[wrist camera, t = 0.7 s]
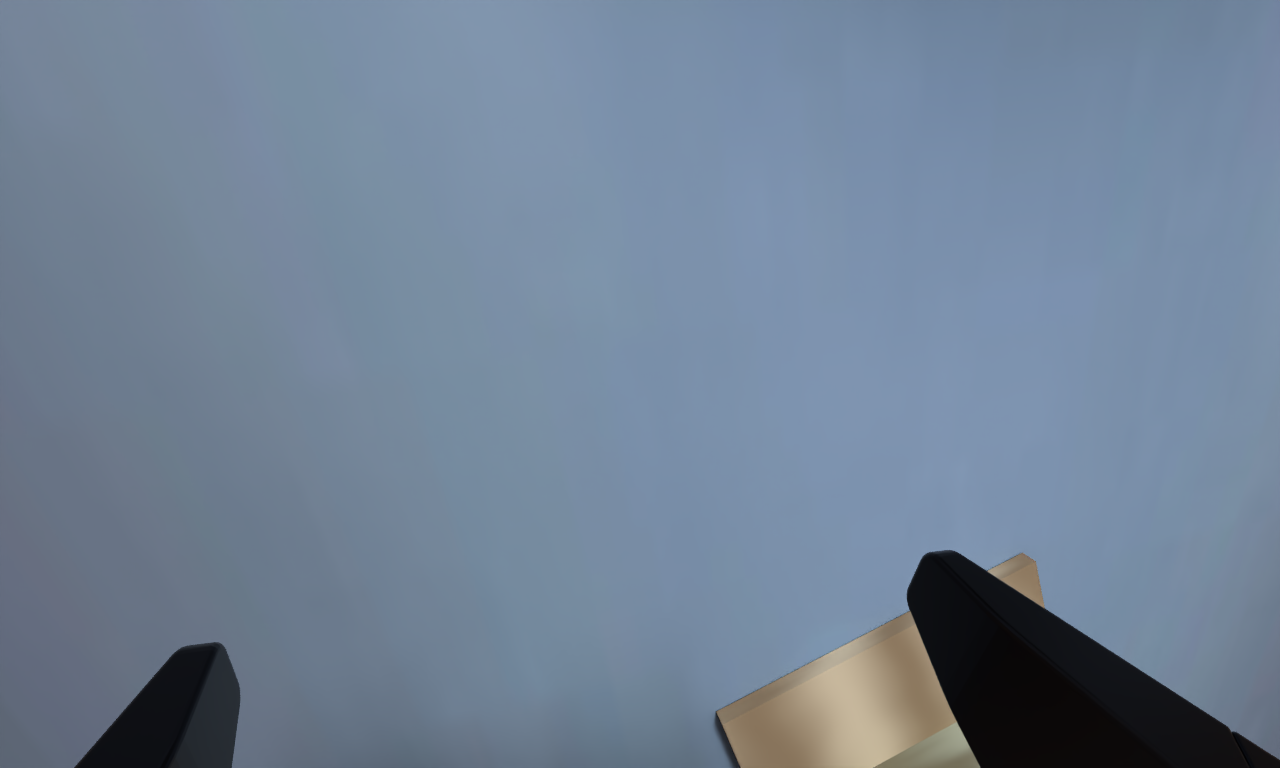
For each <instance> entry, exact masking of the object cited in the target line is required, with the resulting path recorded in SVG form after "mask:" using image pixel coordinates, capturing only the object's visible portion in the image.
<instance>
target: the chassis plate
mask: <svg viewBox="0 0 1280 768" xmlns="http://www.w3.org/2000/svg"><path fill="white" fill-rule="evenodd" d="M988 572H989V573H991V574H992V575H994V576H995V577H997V578H998V579H1000V580H1001V581H1003V582H1005V583H1006V584H1008V585H1009V586H1011V587H1012V588H1014V589H1015V590H1017V591H1018V592H1020V593H1022V594H1023V595H1025V596H1026V597H1028V598H1029V599H1031V600H1032V601H1034V602H1035V603H1037V604H1039V605H1040V606H1042V607H1043V608H1045V607H1044V602H1043V597H1042V592H1041V586H1040V581H1039V576H1038V571H1037V566H1036V561H1034V560H1033V559H1031V558H1030V557H1028V556H1027V555H1025V554H1024V553H1021V554H1019V555H1017V556H1015V557H1013V558H1011V559H1009V560H1008V561H1006V562H1004V563H1002V564H1000V565H998V566H996V567H994V568H992V569H990V570H988ZM716 712H717V715H718V717H719V719H720V722H721V724H722V726H723V729H724V731H725V733H726V736H727V738H728V740H729V743H730V745H731V747H732V750H733V752H734V754H735V757H736V759H737V761H738V764H739V766H740V768H980V766H979V764H978V762H977V760H976V758H975V756H974V754H973V752H972V751H971V749H970V747H969V745H968V743H967V741H966V739H965V737H964V735H963V733H962V731H961V729H960V727H959V725H958V723H957V721H956V719H955V717H954V715H953V713H952V711H951V709H950V707H949V705H948V702H947V700H946V698H945V696H944V693H943V691H942V689H941V686H940V684H939V681H938V679H937V676H936V674H935V671H934V669H933V666H932V664H931V661H930V659H929V656H928V654H927V651H926V649H925V647H924V644H923V642H922V639H921V637H920V634H919V632H918V629H917V627H916V624H915V622H914V619H913V617H912V614H911V612H910V611H909V612H907V613H905V614H903V615H901V616H900V617H898V618H896V619H894V620H892V621H890V622H888V623H886V624H884V625H882V626H880V627H878V628H876V629H875V630H873V631H871V632H869V633H867V634H865V635H863V636H861V637H859V638H857V639H855V640H853V641H851V642H849V643H848V644H846V645H844V646H842V647H840V648H838V649H836V650H834V651H832V652H830V653H828V654H826V655H824V656H822V657H821V658H819V659H817V660H815V661H813V662H811V663H809V664H807V665H805V666H803V667H801V668H799V669H797V670H795V671H794V672H792V673H790V674H788V675H786V676H784V677H782V678H780V679H778V680H776V681H774V682H772V683H770V684H768V685H767V686H765V687H763V688H761V689H759V690H757V691H755V692H753V693H751V694H749V695H747V696H745V697H743V698H742V699H740V700H738V701H736V702H734V703H732V704H730V705H728V706H726V707H724V708H722V709H720V710H718V711H716Z"/></svg>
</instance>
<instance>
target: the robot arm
mask: <svg viewBox="0 0 1280 768" xmlns="http://www.w3.org/2000/svg"><path fill="white" fill-rule="evenodd" d="M907 602H908V606H909V609H910V612H911V614H912V617H913V619H914V622H915V624H916V627H917V629H918V632H919V634H920V637H921V639H922V642H923V644H924V647H925V649H926V651H927V654H928V656H929V659H930V661H931V664H932V666H933V669H934V671H935V674H936V676H937V679H938V681H939V684H940V686H941V689H942V691H943V693H944V696H945V698H946V700H947V702H948V705H949V707H950V709H951V711H952V713H953V715H954V717H955V719H956V721H957V723H958V725H959V727H960V729H961V731H962V733H963V735H964V737H965V739H966V741H967V743H968V745H969V747H970V749H971V751H972V752H973V754H974V756H975V758H976V760H977V762H978V764H979V766H980V768H1280V760H1279V759H1277V758H1276V757H1274V756H1273V755H1271V754H1269V753H1268V752H1266V751H1265V750H1263V749H1262V748H1260V747H1259V746H1257V745H1256V744H1254V743H1252V742H1251V741H1249V740H1248V739H1246V738H1245V737H1243V736H1242V735H1240V734H1239V733H1237V732H1231V731H1230V729H1229V728H1228V727H1227V726H1226V725H1224V724H1223V723H1221V722H1220V721H1218V720H1217V719H1215V718H1213V717H1212V716H1210V715H1209V714H1207V713H1206V712H1204V711H1203V710H1201V709H1200V708H1198V707H1196V706H1195V705H1193V704H1192V703H1190V702H1189V701H1187V700H1186V699H1184V698H1183V697H1181V696H1179V695H1178V694H1176V693H1175V692H1173V691H1172V690H1170V689H1169V688H1167V687H1166V686H1164V685H1162V684H1161V683H1159V682H1158V681H1156V680H1155V679H1153V678H1152V677H1150V676H1148V675H1147V674H1145V673H1144V672H1142V671H1141V670H1139V669H1138V668H1136V667H1135V666H1133V665H1131V664H1130V663H1128V662H1127V661H1125V660H1124V659H1122V658H1121V657H1119V656H1118V655H1116V654H1114V653H1113V652H1111V651H1110V650H1108V649H1107V648H1105V647H1104V646H1102V645H1100V644H1099V643H1097V642H1096V641H1094V640H1093V639H1091V638H1090V637H1088V636H1087V635H1085V634H1083V633H1082V632H1080V631H1079V630H1077V629H1076V628H1074V627H1073V626H1071V625H1070V624H1068V623H1066V622H1065V621H1063V620H1062V619H1060V618H1059V617H1057V616H1056V615H1054V614H1053V613H1051V612H1049V611H1048V610H1046V609H1045V608H1043V607H1042V606H1040V605H1039V604H1037V603H1035V602H1034V601H1032V600H1031V599H1029V598H1028V597H1026V596H1025V595H1023V594H1022V593H1020V592H1018V591H1017V590H1015V589H1014V588H1012V587H1011V586H1009V585H1008V584H1006V583H1005V582H1003V581H1001V580H1000V579H998V578H997V577H995V576H994V575H992V574H991V573H989V572H988V571H986V570H984V569H983V568H981V567H980V566H978V565H977V564H975V563H974V562H972V561H970V560H969V559H967V558H966V557H964V556H963V555H961V554H959V553H958V552H955V551H952V550H944V551H936V552H929V553H927V554H925V555H924V556H923V557H922V559H921V561H920V563H919V565H918V567H917V569H916V572H915V574H914V576H913V578H912V580H911V583H910V585H909V587H908V590H907ZM239 708H240V687H239V683H238V680H237V678H236V675H235V672H234V670H233V667H232V664H231V662H230V659H229V656H228V654H227V651H226V649H225V647H224V646H223V645H222V644H221V643H219V642H213V643H205V644H197V645H189V646H185V647H182V648H180V649H179V650H177V651H176V652H175V653H174V654H173V655H172V656H171V657H170V658H169V659H168V660H167V662H166V663H165V664H164V665H163V666H162V667H161V668H160V670H159V671H158V672H157V673H156V674H155V675H154V677H153V678H152V679H151V680H150V681H149V682H148V683H147V685H146V686H145V687H144V688H143V689H142V690H141V692H140V693H139V694H138V695H137V696H136V697H135V698H134V700H133V701H132V702H131V703H130V704H129V705H128V706H127V708H126V709H125V710H124V711H123V712H122V713H121V715H120V716H119V717H118V718H117V719H116V720H115V721H114V723H113V724H112V725H111V726H110V727H109V728H108V729H107V731H106V732H105V733H104V734H103V735H102V736H101V738H100V739H99V740H98V741H97V742H96V743H95V744H94V746H93V747H92V748H91V749H90V750H89V751H88V752H87V754H86V755H85V756H84V757H83V758H82V759H81V761H80V762H79V763H78V764H77V765H76V766H75V767H74V768H232V761H233V753H234V746H235V738H236V730H237V723H238V715H239Z"/></svg>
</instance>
